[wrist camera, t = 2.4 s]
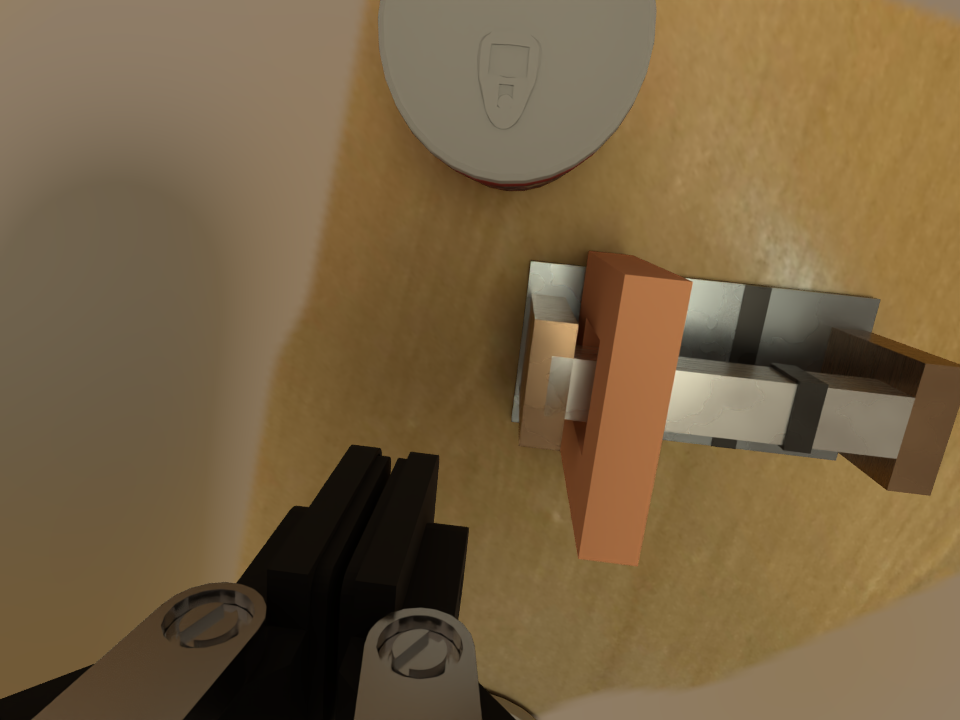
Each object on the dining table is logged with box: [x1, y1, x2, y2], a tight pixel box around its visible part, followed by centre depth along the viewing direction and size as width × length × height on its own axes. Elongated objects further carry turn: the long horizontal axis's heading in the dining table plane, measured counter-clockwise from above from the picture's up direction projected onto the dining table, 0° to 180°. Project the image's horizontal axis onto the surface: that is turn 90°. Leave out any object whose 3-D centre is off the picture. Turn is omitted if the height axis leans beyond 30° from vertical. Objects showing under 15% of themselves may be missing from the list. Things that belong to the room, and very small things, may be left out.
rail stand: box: [512, 260, 960, 496], centre depth 25 cm, size 16×8×7 cm, turn 84°
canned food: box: [378, 0, 656, 191], centre depth 21 cm, size 8×8×11 cm
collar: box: [560, 251, 693, 566], centre depth 23 cm, size 2×10×10 cm, turn 174°
